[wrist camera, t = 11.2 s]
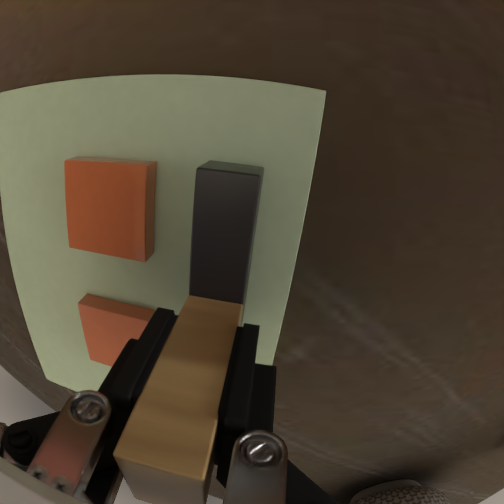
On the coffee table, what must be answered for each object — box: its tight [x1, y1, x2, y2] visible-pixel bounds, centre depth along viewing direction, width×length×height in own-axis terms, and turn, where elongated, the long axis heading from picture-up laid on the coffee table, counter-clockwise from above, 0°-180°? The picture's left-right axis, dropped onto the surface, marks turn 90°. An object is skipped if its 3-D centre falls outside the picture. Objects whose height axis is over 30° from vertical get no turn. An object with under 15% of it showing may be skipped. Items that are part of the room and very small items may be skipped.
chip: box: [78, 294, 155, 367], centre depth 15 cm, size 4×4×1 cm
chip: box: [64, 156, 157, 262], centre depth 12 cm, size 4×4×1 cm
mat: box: [0, 74, 326, 392], centre depth 15 cm, size 20×16×1 cm
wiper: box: [113, 160, 264, 504], centre depth 9 cm, size 12×2×8 cm, turn 173°
